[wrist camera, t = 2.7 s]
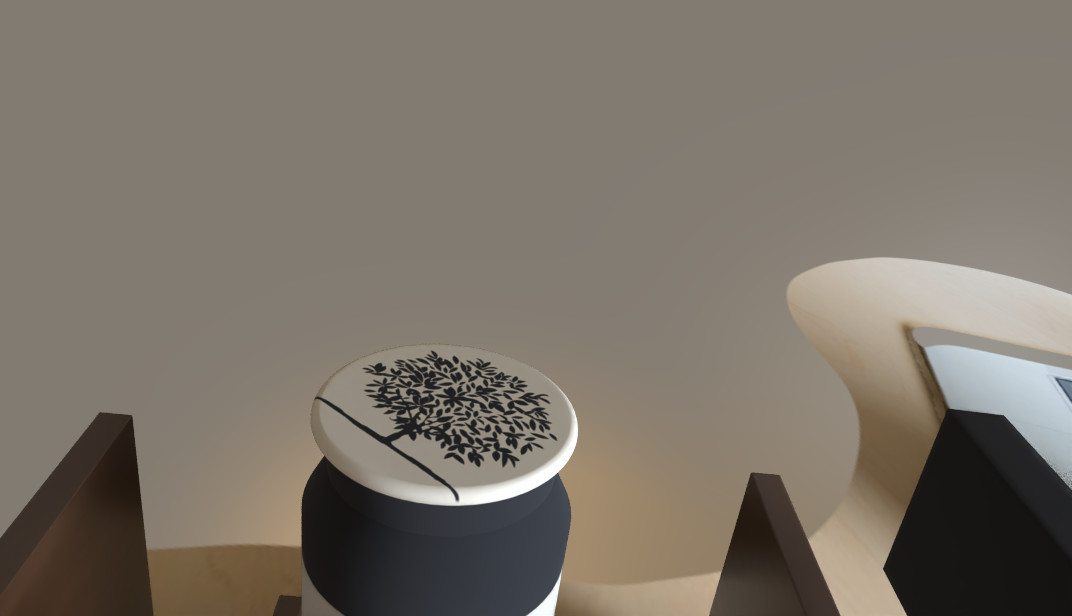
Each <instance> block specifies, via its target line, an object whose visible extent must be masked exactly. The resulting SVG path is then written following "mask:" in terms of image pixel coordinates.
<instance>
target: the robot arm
mask: <svg viewBox="0 0 1072 616" xmlns="http://www.w3.org/2000/svg"><path fill="white" fill-rule="evenodd" d="M883 570H884V572H885V574H886V576H887V578H888V579H889V581H890V583H891V585H892V587H893V589H894V591H895V593H896V595H897V597H898V599H899V601H900V603H901V605H902V606H903V608H904V610H905V612H906V614H907V616H1072V490H1071V489H1070V488H1069V487H1068V486H1067V484H1066V483H1065V482H1064V481H1063V480H1062V479H1061V478H1060V477H1059V476H1058V475H1057V473H1056V472H1055V471H1054V470H1053V469H1052V468H1051V467H1050V466H1049V465H1048V464H1047V462H1046V461H1045V460H1044V459H1043V458H1042V457H1041V456H1040V455H1039V454H1038V453H1037V451H1036V450H1035V449H1034V448H1033V447H1032V446H1031V445H1030V444H1029V443H1028V442H1027V440H1026V439H1025V438H1024V437H1023V436H1022V435H1021V434H1020V433H1019V432H1018V431H1017V429H1016V428H1015V427H1014V426H1013V425H1012V424H1011V423H1010V422H1009V421H1008V420H1007V418H1006V417H1005V416H1004V415H996V414H988V413H980V412H972V411H963V410H955V409H947V412H946V414H945V417H944V419H943V422H942V424H941V427H940V429H939V432H938V434H937V437H936V439H935V442H934V444H933V447H932V449H931V452H930V454H929V456H928V459H927V461H926V464H925V466H924V469H923V471H922V474H921V476H920V479H919V481H918V484H917V486H916V489H915V491H914V494H913V496H912V499H911V501H910V504H909V506H908V508H907V511H906V513H905V516H904V518H903V521H902V523H901V526H900V528H899V531H898V533H897V536H896V538H895V541H894V543H893V546H892V548H891V551H890V553H889V556H888V558H887V560H886V563H885V565H884V568H883Z"/></svg>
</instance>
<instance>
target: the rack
mask: <svg viewBox="0 0 1072 616" xmlns="http://www.w3.org/2000/svg"><path fill="white" fill-rule="evenodd" d="M0 616H154V615H153V606H152V597H151V587H150V578H149V569H148V559H147V550H146V541H145V531H144V522H143V513H142V504H141V494H140V484H139V475H138V465H137V456H136V447H135V438H134V428H133V419H132V415H123V414H112V413H101V412H100V413H99V414H98V415H97V417H96V418H95V419H94V421H93V422H92V423H91V424H90V425H89V427H88V428H87V429H86V430H85V432H84V433H83V434H82V436H81V437H80V438H79V439H78V441H77V442H76V443H75V444H74V446H73V447H72V448H71V449H70V451H69V452H68V453H67V455H66V456H65V457H64V458H63V460H62V461H61V462H60V463H59V465H58V466H57V467H56V468H55V470H54V471H53V472H52V474H51V475H50V476H49V477H48V479H47V480H46V481H45V482H44V484H43V485H42V486H41V487H40V489H39V490H38V491H37V492H36V494H35V495H34V497H33V498H32V499H31V500H30V501H29V503H28V504H27V505H26V506H25V508H24V509H23V510H22V512H21V513H20V514H19V515H18V517H17V518H16V519H15V520H14V522H13V523H12V524H11V525H10V527H9V528H8V529H7V530H6V532H5V533H4V534H3V536H2V537H1V538H0ZM273 616H302V597H296V596H283V595H281V596H279V599H278V602H277V605H276V607H275V610H274V613H273ZM709 616H840V614H839V611H838V609H837V607H836V604H835V602H834V600H833V597H832V595H831V593H830V590H829V588H828V586H827V583H826V581H825V579H824V576H823V574H822V572H821V570H820V567H819V565H818V563H817V560H816V558H815V556H814V553H813V551H812V549H811V546H810V544H809V542H808V539H807V537H806V535H805V532H804V530H803V528H802V526H801V523H800V521H799V519H798V517H797V514H796V512H795V510H794V507H793V505H792V502H791V500H790V498H789V495H788V493H787V491H786V489H785V487H784V484H783V482H782V479H781V477H780V476H779V475H773V474H762V473H751V475H750V478H749V482H748V485H747V488H746V492H745V495H744V499H743V502H742V505H741V509H740V512H739V515H738V519H737V522H736V526H735V529H734V532H733V536H732V539H731V543H730V546H729V550H728V553H727V556H726V560H725V563H724V567H723V570H722V573H721V577H720V580H719V584H718V587H717V590H716V594H715V597H714V601H713V604H712V607H711V611H710V614H709Z"/></svg>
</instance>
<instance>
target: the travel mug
mask: <svg viewBox="0 0 1072 616" xmlns="http://www.w3.org/2000/svg"><path fill="white" fill-rule="evenodd" d="M311 427H312V432H313V435H314V438H315V441H316V443H317V445H318V446H319V448H320V450H321V451H322V453H323V454H324V457H323V458H322V460H321V461H320V463H319V464H318V465H317V467H316V468H315V470H314V471H313V473H312V475H311V476H310V478H309V480H308V482H307V484H306V487H305V489H304V493H303V497H302V616H554V612H555V606H556V601H557V595H558V590H559V584H560V579H561V573H562V568H563V562H564V557H565V551H566V546H567V540H568V535H569V529H570V522H571V507H570V502H569V498H568V495H567V492H566V490H565V487H564V486H563V483H562V481H561V479H560V477H559V474H558V472H559V471H560V470H561V469H562V468H563V466H564V465H565V464H566V463H567V461H568V460H569V458H570V456H571V455H572V453H573V451H574V448H575V445H576V441H577V436H578V425H577V418H576V415H575V412H574V409H573V407H572V405H571V403H570V402H569V401H568V399H567V397H566V396H565V394H564V393H563V392H562V391H561V390H560V388H559V387H557V386H556V385H555V384H554V383H553V382H552V381H551V380H550V379H548V378H547V377H546V376H544V375H543V374H541V373H540V372H539V371H537V370H535V369H534V368H532V367H530V366H528V365H526V364H524V363H522V362H520V361H517V360H515V359H512V358H510V357H507V356H504V355H501V354H498V353H494V352H491V351H487V350H483V349H478V348H473V347H466V346H459V345H448V344H422V345H410V346H401V347H396V348H391V349H386V350H382V351H379V352H375V353H372V354H369V355H366V356H364V357H361V358H359V359H357V360H355V361H353V362H351V363H349V364H347V365H345V366H344V367H342V368H341V369H339V370H338V371H337V372H336V373H334V374H333V375H332V376H331V377H330V378H329V379H328V380H327V381H326V382H325V383H324V384H323V386H322V387H321V388H320V390H319V392H318V393H317V395H316V397H315V399H314V402H313V405H312V410H311Z"/></svg>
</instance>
